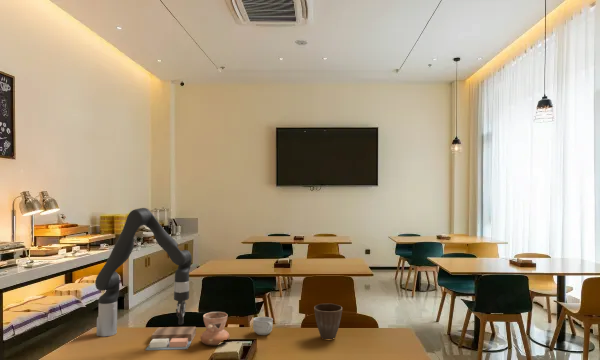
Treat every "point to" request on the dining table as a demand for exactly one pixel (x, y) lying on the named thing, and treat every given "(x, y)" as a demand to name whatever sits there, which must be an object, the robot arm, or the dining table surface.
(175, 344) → the terracotta block
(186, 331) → the walnut stand
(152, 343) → the cream block
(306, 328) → the dining table surface
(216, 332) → the ceramic jug
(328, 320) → the plant pot
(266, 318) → the teacup
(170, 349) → the rubber mat
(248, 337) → the dining table surface
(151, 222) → the robot arm
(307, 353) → the dining table surface
